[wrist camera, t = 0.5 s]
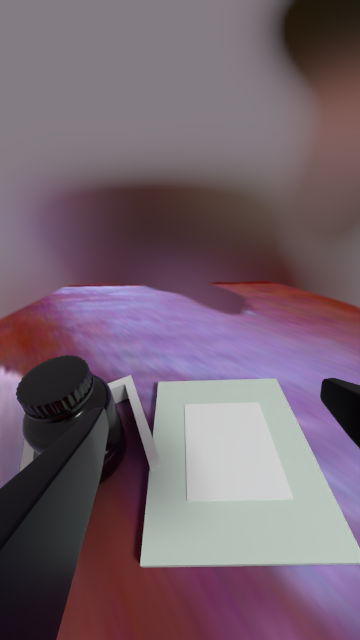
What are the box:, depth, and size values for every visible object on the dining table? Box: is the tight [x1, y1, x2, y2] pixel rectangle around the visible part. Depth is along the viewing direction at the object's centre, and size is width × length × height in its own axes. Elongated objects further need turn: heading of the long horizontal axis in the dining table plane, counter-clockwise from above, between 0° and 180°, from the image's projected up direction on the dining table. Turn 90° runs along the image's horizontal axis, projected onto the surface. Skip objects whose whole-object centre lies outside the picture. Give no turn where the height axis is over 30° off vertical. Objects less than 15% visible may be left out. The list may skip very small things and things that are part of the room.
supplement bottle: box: [16, 355, 126, 485], centre depth 18 cm, size 7×7×12 cm
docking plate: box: [140, 379, 360, 567], centre depth 21 cm, size 16×16×1 cm
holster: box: [19, 375, 161, 472], centre depth 21 cm, size 10×12×3 cm
